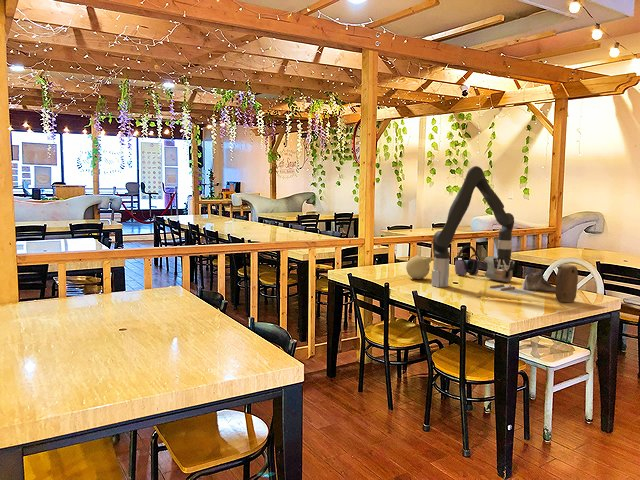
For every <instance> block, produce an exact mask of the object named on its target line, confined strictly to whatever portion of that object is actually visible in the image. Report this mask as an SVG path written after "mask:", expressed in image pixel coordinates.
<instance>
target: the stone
mask: <svg viewBox="0 0 640 480" xmlns="http://www.w3.org/2000/svg"><path fill="white" fill-rule="evenodd" d="M555 276H556V277H555V286H554V287H555V293H554V294H555V299H556V300H557V301H558V302H562V303H573V302H575V299H576V297H577V294H578V293H577V292H578V281H579V271H578V267H577V266H575V265H573V264H572V265H571V264H569V263H562V264H560V265H559V266H558V267H557V273H556V275H555Z"/></svg>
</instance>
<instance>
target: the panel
mask: <svg viewBox="0 0 640 480" xmlns="http://www.w3.org/2000/svg"><path fill="white" fill-rule="evenodd" d="M486 289H487V290H492V291H497V292H501V293H504V294H505V293H506V294H509V295H513V296H522V295H523V296H524V295H529V294H535V293H536V292H537V291H527V290H522V288H518V287H516V286H512V284H511V283H509V284H508V285H505V284H504V283H501V284H495V285H494V284H493V285H490V286H489V287H486Z"/></svg>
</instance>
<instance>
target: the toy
mask: <svg viewBox="0 0 640 480" xmlns="http://www.w3.org/2000/svg"><path fill="white" fill-rule="evenodd" d="M432 261H433V257H424V256H422V255H420V254H419V253H417V254H416V255H414V256H413V257H411V258H409V259H408V261H407V262H406V265H405V269H406V273H407V274H408V275H409V277H411V278H412V279H413V280H414V279H415V280H421V279H424V278H426V277H427V276H428V274H429V273H430V271H431V269H430V267H431V265H430V263H432Z"/></svg>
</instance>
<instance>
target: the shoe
mask: <svg viewBox="0 0 640 480" xmlns="http://www.w3.org/2000/svg"><path fill="white" fill-rule="evenodd" d="M555 287H556V286H554V285H552V283H550V282H549V280H546V279H545V276H544V275H543V274H542V272H540V271H538V272H530V273H529V272H528V273H527V275H525V278H524V280H523V282H522V286H521V289H522V290H527V291H531V292H541V293H551V294H555Z"/></svg>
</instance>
